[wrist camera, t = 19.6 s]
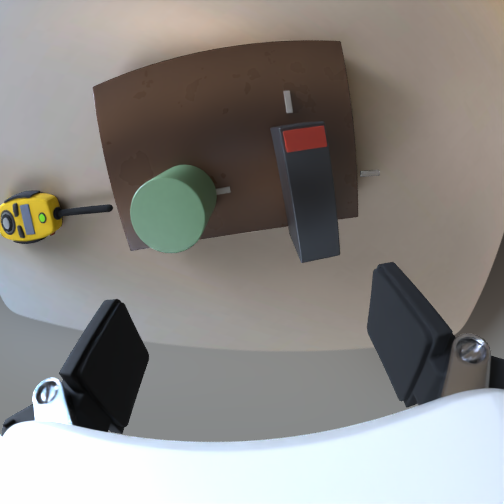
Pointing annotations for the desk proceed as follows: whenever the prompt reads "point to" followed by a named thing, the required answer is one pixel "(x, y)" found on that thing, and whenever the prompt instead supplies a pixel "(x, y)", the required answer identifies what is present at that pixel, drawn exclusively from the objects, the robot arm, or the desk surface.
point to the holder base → (228, 127)
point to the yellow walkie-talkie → (36, 216)
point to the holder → (307, 188)
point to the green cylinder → (173, 208)
